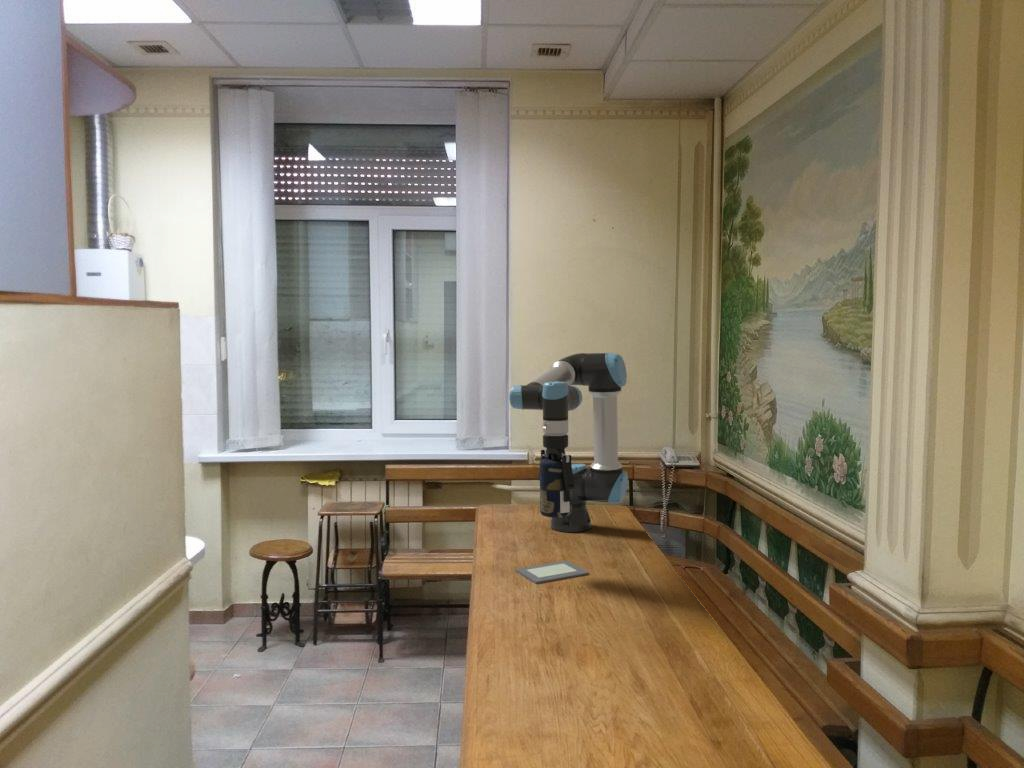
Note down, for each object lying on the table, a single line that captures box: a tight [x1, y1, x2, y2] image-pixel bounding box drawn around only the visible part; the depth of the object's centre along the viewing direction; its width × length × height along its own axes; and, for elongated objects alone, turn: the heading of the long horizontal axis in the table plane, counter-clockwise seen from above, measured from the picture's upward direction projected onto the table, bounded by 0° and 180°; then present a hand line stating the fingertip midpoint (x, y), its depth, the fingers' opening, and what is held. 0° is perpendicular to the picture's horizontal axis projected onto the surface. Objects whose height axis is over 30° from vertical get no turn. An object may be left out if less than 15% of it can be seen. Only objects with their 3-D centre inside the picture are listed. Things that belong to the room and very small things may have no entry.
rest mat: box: [514, 560, 590, 585], centre depth 217 cm, size 18×13×1 cm
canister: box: [539, 458, 572, 518], centre depth 215 cm, size 10×10×18 cm
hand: (555, 508), depth 215 cm, fingers closed on canister, 9 cm apart
